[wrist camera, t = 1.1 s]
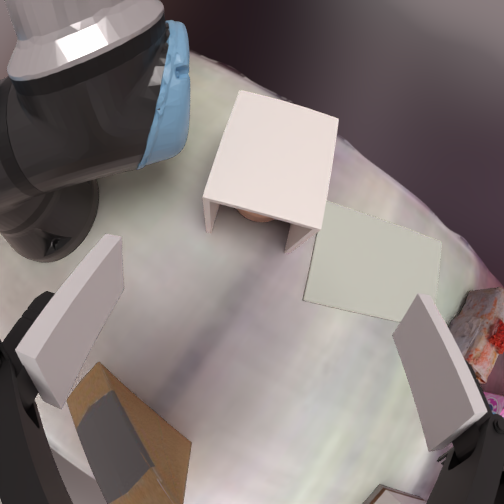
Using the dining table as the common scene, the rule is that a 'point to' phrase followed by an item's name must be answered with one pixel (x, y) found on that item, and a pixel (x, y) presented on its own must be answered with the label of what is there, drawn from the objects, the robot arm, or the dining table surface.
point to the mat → (370, 264)
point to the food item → (481, 330)
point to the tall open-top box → (392, 497)
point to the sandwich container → (128, 443)
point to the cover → (274, 165)
